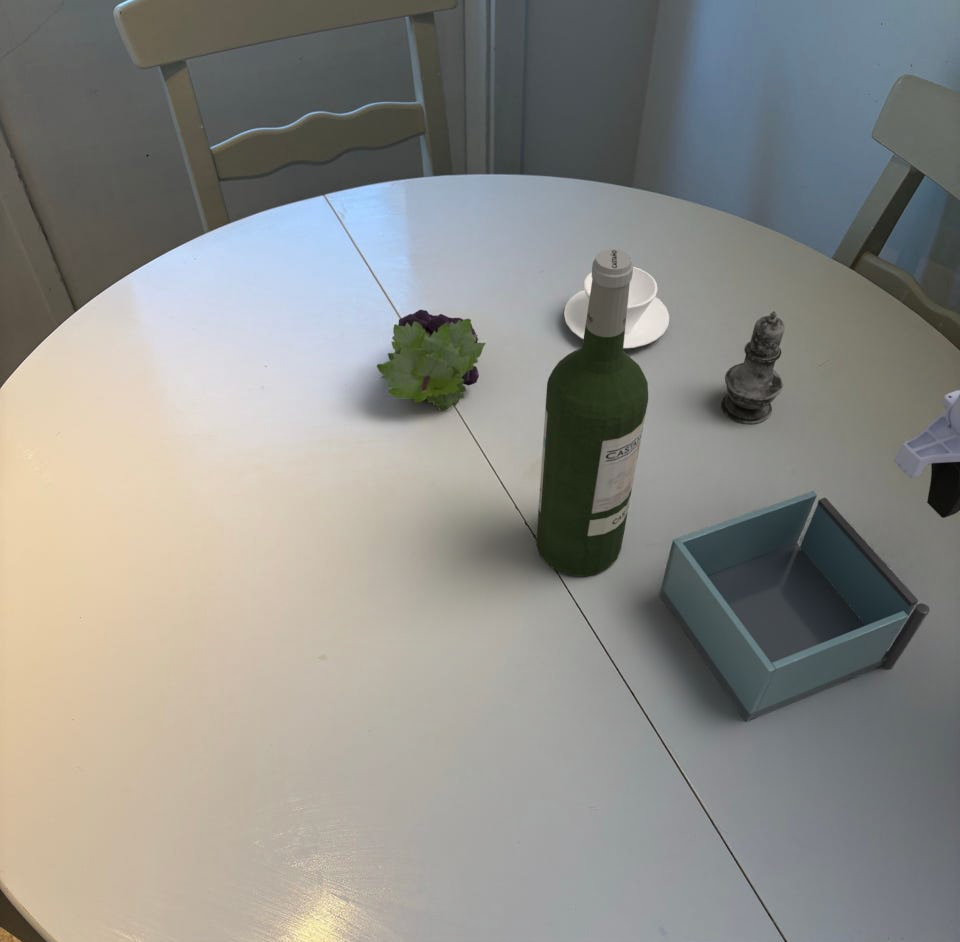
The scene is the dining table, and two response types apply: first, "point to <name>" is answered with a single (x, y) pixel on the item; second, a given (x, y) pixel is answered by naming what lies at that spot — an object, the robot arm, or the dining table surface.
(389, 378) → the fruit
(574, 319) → the teacup
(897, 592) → the blue flat panel
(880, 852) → the dining table surface
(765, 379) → the grey chess piece
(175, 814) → the dining table surface
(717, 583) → the light blue open box
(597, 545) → the wine bottle
